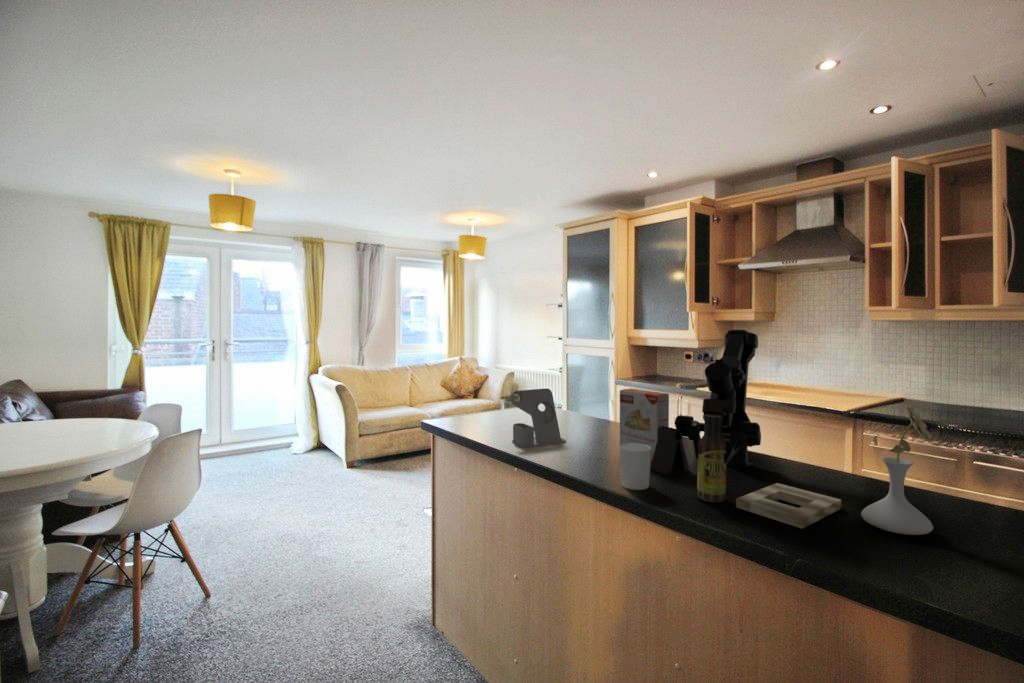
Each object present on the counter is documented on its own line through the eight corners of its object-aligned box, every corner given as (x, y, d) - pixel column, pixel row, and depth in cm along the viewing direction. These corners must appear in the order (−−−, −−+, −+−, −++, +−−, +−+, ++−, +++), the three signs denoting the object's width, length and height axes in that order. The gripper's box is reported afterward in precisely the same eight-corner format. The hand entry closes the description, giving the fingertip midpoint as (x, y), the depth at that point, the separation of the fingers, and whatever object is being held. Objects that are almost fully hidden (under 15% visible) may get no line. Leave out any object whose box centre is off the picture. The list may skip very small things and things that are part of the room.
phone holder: (523, 448, 162) (523, 394, 161) (509, 442, 171) (509, 390, 170) (567, 442, 170) (567, 390, 169) (551, 436, 179) (551, 387, 178)
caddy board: (776, 491, 120) (776, 482, 120) (840, 508, 109) (841, 499, 109) (736, 507, 110) (736, 498, 110) (802, 528, 98) (802, 518, 98)
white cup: (645, 493, 119) (645, 452, 119) (614, 487, 123) (614, 448, 123) (654, 484, 126) (655, 445, 125) (625, 479, 130) (625, 441, 130)
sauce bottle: (703, 504, 112) (703, 417, 111) (692, 495, 118) (692, 412, 117) (731, 503, 112) (731, 417, 111) (719, 494, 118) (719, 412, 117)
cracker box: (618, 456, 151) (618, 389, 150) (631, 453, 155) (631, 387, 154) (656, 467, 140) (656, 394, 139) (669, 463, 144) (669, 392, 143)
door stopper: (666, 475, 133) (667, 431, 132) (650, 470, 138) (650, 427, 137) (689, 470, 137) (689, 428, 137) (672, 465, 142) (672, 424, 142)
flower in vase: (911, 545, 91) (915, 411, 90) (848, 522, 101) (850, 402, 100) (950, 533, 96) (954, 406, 95) (886, 512, 106) (889, 398, 105)
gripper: (676, 383, 122) (663, 435, 113) (760, 388, 112) (752, 446, 103) (684, 409, 129) (672, 461, 120) (763, 416, 119) (757, 473, 110)
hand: (711, 460), depth 113 cm, fingers closed on sauce bottle, 6 cm apart
